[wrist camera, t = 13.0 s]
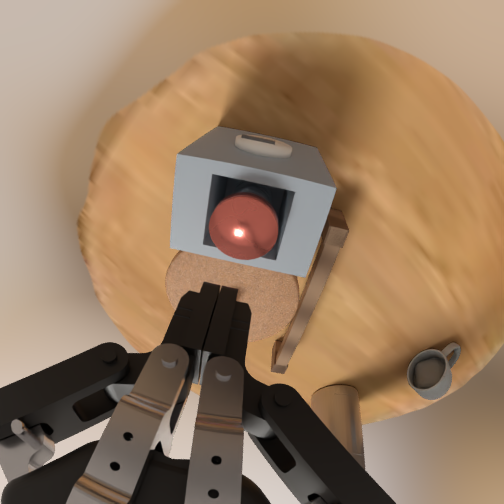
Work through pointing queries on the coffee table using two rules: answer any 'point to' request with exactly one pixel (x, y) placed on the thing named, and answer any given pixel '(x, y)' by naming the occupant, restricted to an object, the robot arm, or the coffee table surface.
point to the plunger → (245, 222)
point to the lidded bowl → (249, 289)
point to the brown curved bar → (311, 288)
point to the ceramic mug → (432, 371)
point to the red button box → (258, 171)
